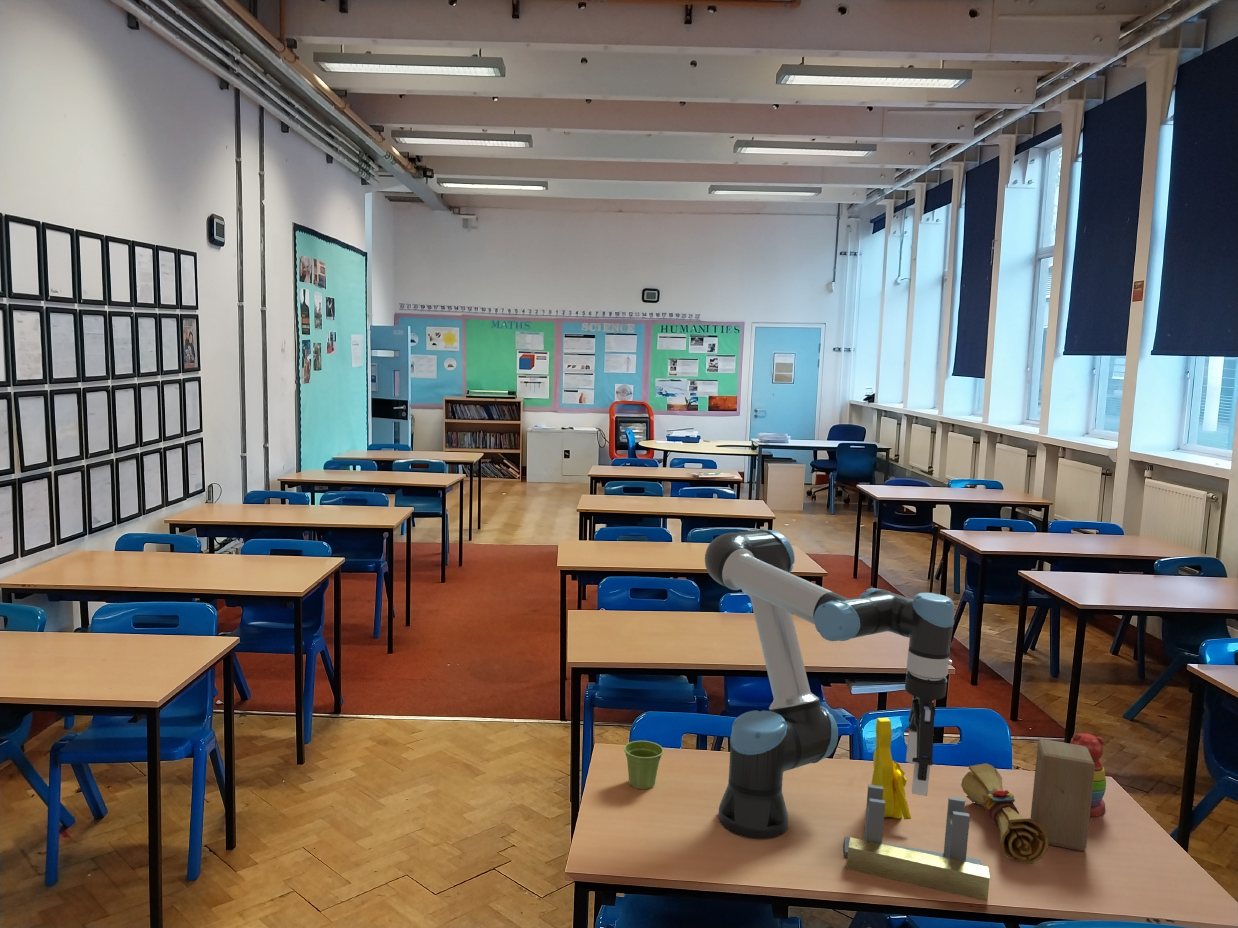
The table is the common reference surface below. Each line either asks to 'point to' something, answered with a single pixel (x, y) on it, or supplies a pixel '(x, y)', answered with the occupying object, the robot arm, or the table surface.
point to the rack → (952, 848)
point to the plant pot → (642, 763)
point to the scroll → (1005, 815)
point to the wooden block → (1063, 792)
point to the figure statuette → (889, 773)
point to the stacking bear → (1099, 780)
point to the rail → (919, 869)
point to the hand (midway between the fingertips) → (915, 777)
